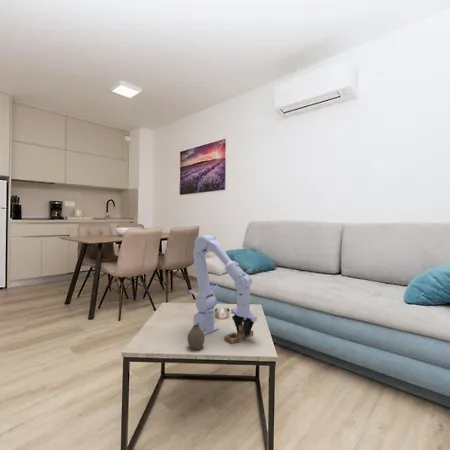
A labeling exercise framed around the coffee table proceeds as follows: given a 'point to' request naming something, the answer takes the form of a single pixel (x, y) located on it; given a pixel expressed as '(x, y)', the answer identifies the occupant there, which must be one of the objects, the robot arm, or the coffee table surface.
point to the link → (237, 335)
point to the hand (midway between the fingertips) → (243, 333)
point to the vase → (196, 337)
